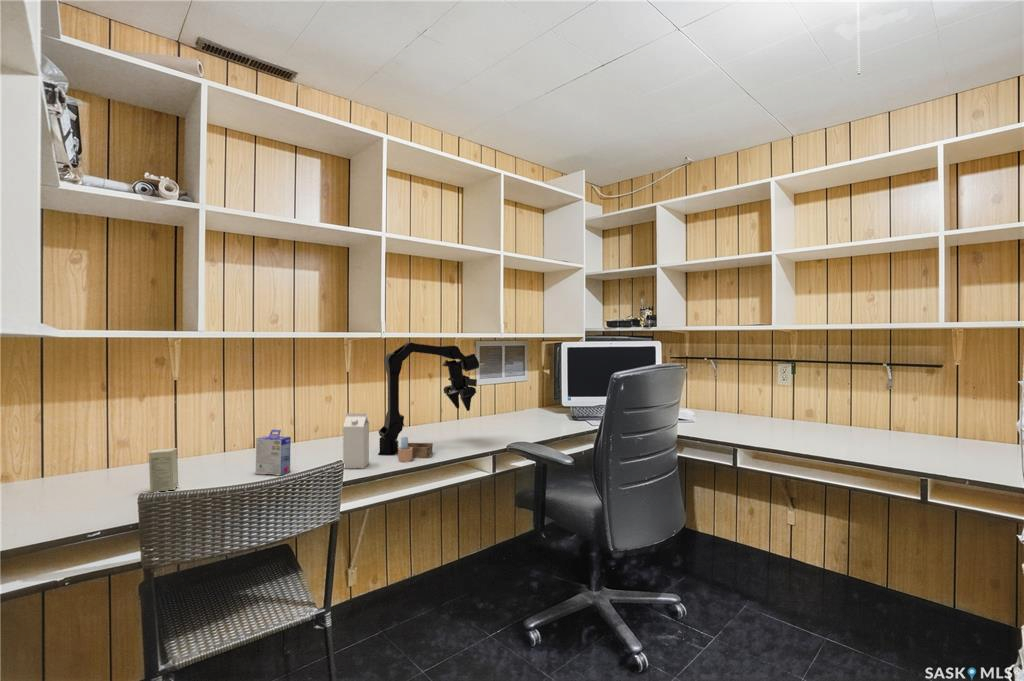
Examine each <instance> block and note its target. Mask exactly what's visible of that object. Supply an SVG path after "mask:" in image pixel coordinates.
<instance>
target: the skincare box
mask: <svg viewBox="0 0 1024 681" xmlns="http://www.w3.org/2000/svg"><path fill="white" fill-rule="evenodd" d="M178 461H179V460H178V448H177V447H174V448H173V447H172V448H160V449H153V450H151V451H150V452H148V466H149V467H148V468H149V469H148V470H149V493H150V492H155V493H158V492H157V491H165V492H169V491H168V490H174V491H175V490H176V489H177V488H178V487H179V470H178V467H179V466H178V464H179V463H178ZM177 486H178V487H177ZM176 487H177V488H176ZM174 488H176V489H174Z"/></svg>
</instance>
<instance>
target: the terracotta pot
mask: <svg viewBox="0 0 1024 681" xmlns="http://www.w3.org/2000/svg"><path fill="white" fill-rule="evenodd" d="M397 459H398V460H399V461H402V462H401V463H407V462H406V461H410V462H412V461H413V459H414V458H413V448H412V447H408V449H401V446H400V447H398V452H397ZM411 460H412V461H411ZM399 461H398V462H399Z"/></svg>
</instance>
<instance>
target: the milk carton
mask: <svg viewBox="0 0 1024 681" xmlns="http://www.w3.org/2000/svg"><path fill="white" fill-rule="evenodd" d="M345 415H346V416H345V420H344V423H343V430H342V432H343V435H342V436H343V437H342V440H343V442H342V443H343V444H342V446H343V447H342V448H343V449H342V450H343V451H342V453H343V454H342V455H343V456H342V457H343V458H342V460H343V461H344V464H345V468H344V469H356V468H362V469H364V468H366V467H367V466H368V465H369V464H368V463H370V423H369V420H368V416H367V413H366V412H365V413H364V412H363V413H360V412H359V413H358V412H357V413H355V412H353V413H351V412H350V413H346V414H345ZM343 461H342V462H343Z"/></svg>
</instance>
